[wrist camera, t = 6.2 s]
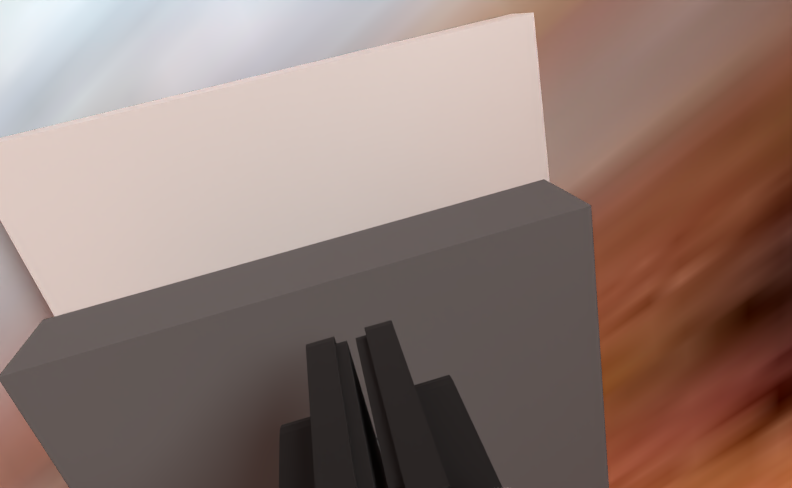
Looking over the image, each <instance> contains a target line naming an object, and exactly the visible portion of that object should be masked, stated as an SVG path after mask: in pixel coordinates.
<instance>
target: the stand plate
mask: <svg viewBox="0 0 792 488" xmlns="http://www.w3.org/2000/svg"><path fill="white" fill-rule="evenodd" d="M543 179H545V180H546V181H548V182H550V180H549V169H548V159H547V148H546V138H545V127H544V117H543V106H542V96H541V85H540V75H539V64H538V54H537V43H536V33H535V23H534V13H517V14H509V15H505V16H500V17H496V18H492V19H488V20H484V21H480V22H476V23H471V24H467V25H463V26H459V27H455V28H451V29H447V30H443V31H438V32H434V33H430V34H426V35H422V36H418V37H414V38H410V39H405V40H401V41H397V42H393V43H389V44H385V45H381V46H377V47H372V48H368V49H364V50H360V51H356V52H352V53H348V54H344V55H339V56H335V57H331V58H327V59H323V60H319V61H315V62H310V63H306V64H302V65H298V66H294V67H290V68H286V69H282V70H277V71H273V72H269V73H265V74H261V75H257V76H253V77H249V78H244V79H240V80H236V81H232V82H228V83H224V84H220V85H216V86H211V87H207V88H203V89H199V90H195V91H191V92H187V93H183V94H178V95H174V96H170V97H166V98H162V99H158V100H154V101H149V102H145V103H141V104H137V105H133V106H129V107H125V108H121V109H116V110H112V111H108V112H104V113H100V114H96V115H92V116H88V117H83V118H79V119H75V120H71V121H67V122H63V123H59V124H55V125H50V126H46V127H42V128H38V129H34V130H30V131H26V132H21V133H17V134H13V135H9V136H5V137H1V138H0V220H1V222H2V224H3V226H4V228H5V229H6V231H7V233H8V235H9V236H10V238H11V240H12V242H13V244H14V245H15V247H16V249H17V251H18V252H19V254H20V256H21V258H22V260H23V261H24V263H25V265H26V267H27V268H28V270H29V272H30V274H31V276H32V277H33V279H34V281H35V283H36V284H37V286H38V288H39V290H40V292H41V293H42V295H43V297H44V299H45V300H46V302H47V304H48V306H49V308H50V309H51V311H52V313H53V315H54V316H59V315H62V314H66V313H69V312H73V311H76V310H80V309H84V308H87V307H91V306H94V305H98V304H101V303H105V302H108V301H112V300H116V299H119V298H123V297H126V296H130V295H133V294H137V293H141V292H144V291H148V290H151V289H155V288H158V287H162V286H165V285H169V284H173V283H176V282H180V281H183V280H187V279H190V278H194V277H198V276H201V275H205V274H208V273H212V272H215V271H219V270H222V269H226V268H230V267H233V266H237V265H240V264H244V263H247V262H251V261H255V260H258V259H262V258H265V257H269V256H272V255H276V254H279V253H283V252H287V251H290V250H294V249H297V248H301V247H304V246H308V245H311V244H315V243H319V242H322V241H326V240H329V239H333V238H336V237H340V236H344V235H347V234H351V233H354V232H358V231H361V230H365V229H368V228H372V227H376V226H379V225H383V224H386V223H390V222H393V221H397V220H401V219H404V218H408V217H411V216H415V215H418V214H422V213H425V212H429V211H433V210H436V209H440V208H443V207H447V206H450V205H454V204H458V203H461V202H465V201H468V200H472V199H475V198H479V197H482V196H486V195H490V194H493V193H497V192H500V191H504V190H507V189H511V188H515V187H518V186H522V185H525V184H529V183H532V182H536V181H539V180H543Z"/></svg>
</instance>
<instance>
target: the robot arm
mask: <svg viewBox="0 0 792 488" xmlns="http://www.w3.org/2000/svg"><path fill="white" fill-rule="evenodd" d="M364 329H365V333H366V335H364V336H361V337H357V338H355V339H356V344H357V348H358V353H359V357H360V362H361V366H362V371H363V375H364V380H365V384H366V389H367V393H368V398H369V402H370V407H371V412H372V416H373V421H374V425H375V430H376V434H377V439H378V442H377V439H376V435H375V432H374V429H373V425H372V422H371V419H370V415H369V412H368V409H367V405H366V402H365V399H364V395H363V392H362V389H361V385H360V382H359V379H358V376H357V372H356V369H355V366H354V362H353V359H352V356H351V352H350V349H349V346H348V343H347V341H343V342H340V343H336V340H335V337H334V336H333V337H330V338H326V339H323V340H319V341H316V342H312V343H309V344H306V359H307V374H308V389H309V405H310V417H307V418H303V419H300V420H297V421H293V422H290V423H287V424H283V425H281V427H280V435H279V488H503V487H502V485H501V483H500V481H499V479H498V476H497V474H496V472H495V470H494V468H493V466H492V463H491V461H490V459H489V457H488V455H487V453H486V450H485V448H484V446H483V444H482V442H481V440H480V438H479V435H478V433H477V431H476V429H475V427H474V425H473V422H472V420H471V418H470V416H469V414H468V412H467V409H466V407H465V405H464V403H463V401H462V399H461V397H460V394H459V392H458V390H457V388H456V386H455V384H454V381H453V380H452V378H451V376H450V375H446V376H443V377H440V378H436V379H433V380H430V381H426V382H423V383H420V384H416V385H414V383H413V380H412V377H411V374H410V371H409V369H408V366H407V363H406V360H405V357H404V354H403V351H402V349H401V346H400V343H399V340H398V337H397V334H396V332H395V329H394V326H393V323H392V321H391V320H389V321H385V322H382V323H378V324H375V325H371V326H368V327H364ZM378 443H379V445H378ZM379 448H380V449H379ZM380 452H381V453H380Z"/></svg>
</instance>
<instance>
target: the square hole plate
mask: <svg viewBox="0 0 792 488" xmlns="http://www.w3.org/2000/svg"><path fill="white" fill-rule="evenodd" d="M389 320H391V321H392V323H393V326H394V329H395V332H396V334H397V337H398V340H399V343H400V346H401V349H402V351H403V354H404V357H405V360H406V363H407V366H408V369H409V371H410V374H411V377H412V380H413V383H414V385H416V384H420V383H423V382H426V381H430V380H433V379H436V378H440V377H443V376H446V375H450V376H451V378H452V380H453V381H454V384H455V386H456V388H457V390H458V392H459V394H460V397H461V399H462V401H463V403H464V405H465V407H466V409H467V412H468V414H469V416H470V418H471V420H472V422H473V425H474V427H475V429H476V431H477V433H478V435H479V438H480V440H481V442H482V444H483V446H484V448H485V450H486V453H487V455H488V457H489V459H490V461H491V463H492V466H493V468H494V470H495V472H496V474H497V476H498V479H499V481H500V483H501V485H502V487H503V488H609V482H608V466H607V450H606V434H605V418H604V402H603V386H602V370H601V354H600V338H599V323H598V307H597V291H596V275H595V259H594V243H593V227H592V211H591V205H589V204H588V203H586V202H584V201H582V200H580V199H579V198H577V197H575V196H573V195H571V194H570V193H568V192H566V191H564V190H563V189H561V188H559V187H557V186H555V185H554V184H552V183H550V182H548V181H546V180H545V179H543V180H539V181H536V182H532V183H529V184H525V185H522V186H518V187H515V188H511V189H507V190H504V191H500V192H497V193H493V194H490V195H486V196H482V197H479V198H475V199H472V200H468V201H465V202H461V203H458V204H454V205H450V206H447V207H443V208H440V209H436V210H433V211H429V212H425V213H422V214H418V215H415V216H411V217H408V218H404V219H401V220H397V221H393V222H390V223H386V224H383V225H379V226H376V227H372V228H368V229H365V230H361V231H358V232H354V233H351V234H347V235H344V236H340V237H336V238H333V239H329V240H326V241H322V242H319V243H315V244H311V245H308V246H304V247H301V248H297V249H294V250H290V251H287V252H283V253H279V254H276V255H272V256H269V257H265V258H262V259H258V260H255V261H251V262H247V263H244V264H240V265H237V266H233V267H230V268H226V269H222V270H219V271H215V272H212V273H208V274H205V275H201V276H198V277H194V278H190V279H187V280H183V281H180V282H176V283H173V284H169V285H165V286H162V287H158V288H155V289H151V290H148V291H144V292H141V293H137V294H133V295H130V296H126V297H123V298H119V299H116V300H112V301H108V302H105V303H101V304H98V305H94V306H91V307H87V308H84V309H80V310H76V311H73V312H69V313H66V314H62V315H59V316H55V317H51V318H48V319H44V320H42V322H41V323H40V324H39V325H38V327H37V328H36V329H35V331H34V332H33V333H32V334H31V336H30V337H29V338H28V339H27V341H26V342H25V343H24V345H23V346H22V347H21V348H20V350H19V351H18V352H17V353H16V355H15V356H14V357H13V359H12V360H11V361H10V362H9V364H8V365H7V366H6V367H5V369H4V370H3V371H2V372H1V374H0V382H1V383H2V385H3V386H4V388H5V389H6V391H7V393H8V394H9V396H10V397H11V399H12V400H13V402H14V403H15V405H16V406H17V408H18V409H19V411H20V412H21V414H22V416H23V417H24V419H25V420H26V422H27V423H28V425H29V426H30V428H31V429H32V431H33V432H34V434H35V436H36V437H37V439H38V440H39V442H40V443H41V445H42V446H43V448H44V449H45V451H46V452H47V454H48V456H49V457H50V459H51V460H52V462H53V463H54V465H55V466H56V468H57V469H58V471H59V472H60V474H61V475H62V477H63V479H64V480H65V482H66V483H67V485H68V486H69V488H279V435H280V427H281V425H283V424H287V423H290V422H293V421H297V420H300V419H303V418H307V417H310V405H309V389H308V374H307V359H306V344H309V343H312V342H316V341H319V340H323V339H326V338H330V337H333V336H334V337H335V340H336V343H340V342H343V341H347V343H348V346H349V349H350V352H351V356H352V359H353V362H354V366H355V369H356V372H357V376H358V379H359V382H360V385H361V389H362V392H363V395H364V399H365V402H366V405H367V409H368V412H369V415H370V419H371V422H372V425H373V429H374V432H375V435H377V434H376V430H375V425H374V421H373V416H372V412H371V407H370V402H369V398H368V393H367V389H366V384H365V380H364V375H363V371H362V366H361V362H360V357H359V353H358V348H357V344H356V339H355V338H357V337H361V336H364V335H366V333H365V329H364V327H368V326H371V325H375V324H378V323H382V322H385V321H389Z"/></svg>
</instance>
